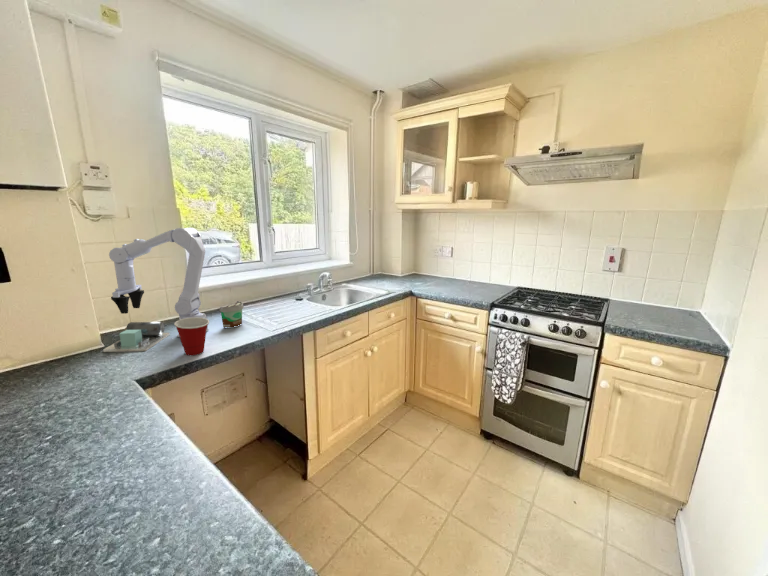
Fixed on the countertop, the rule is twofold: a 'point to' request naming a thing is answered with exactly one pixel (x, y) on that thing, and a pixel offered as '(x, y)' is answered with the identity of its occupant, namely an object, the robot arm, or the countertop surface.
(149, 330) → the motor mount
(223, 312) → the food container
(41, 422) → the countertop surface
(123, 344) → the pump block
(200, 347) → the plastic cup
